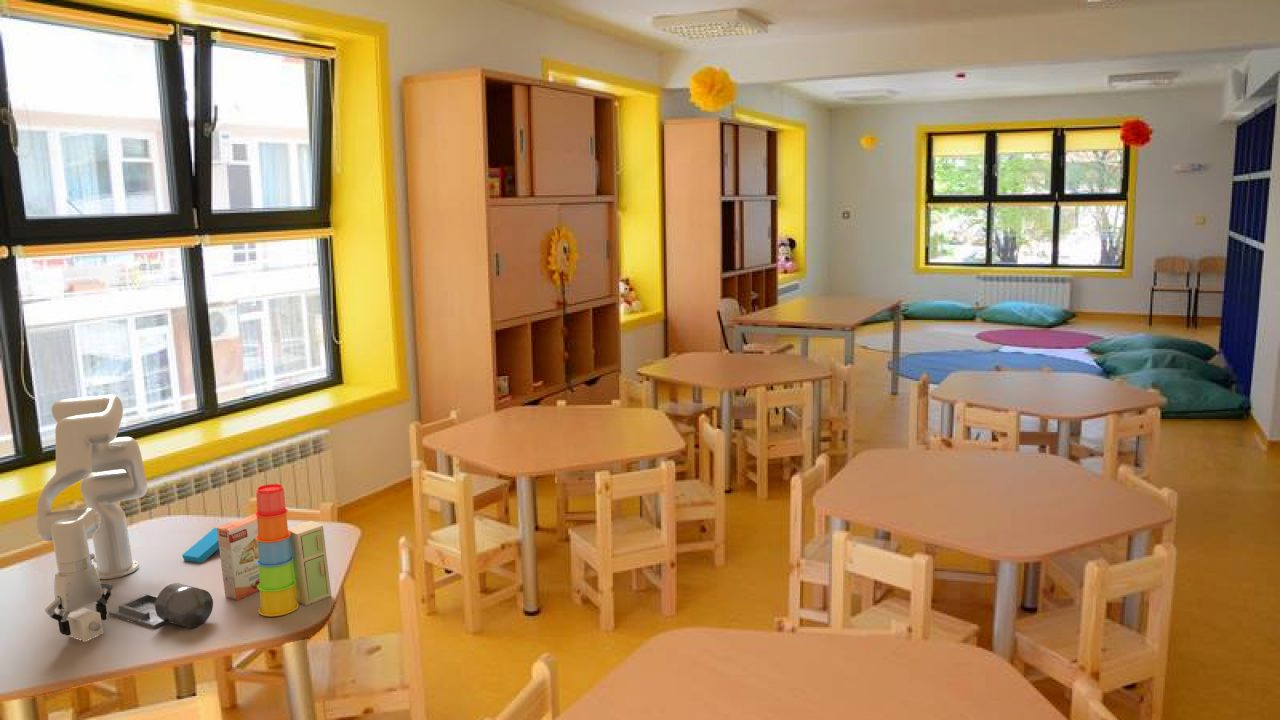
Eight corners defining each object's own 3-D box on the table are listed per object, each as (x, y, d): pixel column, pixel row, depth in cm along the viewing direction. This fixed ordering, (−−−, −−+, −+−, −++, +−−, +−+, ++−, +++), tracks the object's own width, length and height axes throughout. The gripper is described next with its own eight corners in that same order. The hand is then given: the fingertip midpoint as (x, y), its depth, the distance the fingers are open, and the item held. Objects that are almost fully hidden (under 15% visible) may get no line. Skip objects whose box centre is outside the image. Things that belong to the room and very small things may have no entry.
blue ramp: (206, 575, 301) (245, 540, 316) (198, 557, 298) (238, 522, 313) (189, 573, 304) (229, 538, 319) (181, 555, 301) (222, 520, 316)
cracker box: (238, 601, 270) (228, 530, 266) (224, 597, 273) (214, 527, 269) (280, 582, 281) (271, 514, 277) (266, 578, 285) (257, 511, 281)
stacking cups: (268, 601, 269) (252, 482, 262) (304, 600, 268) (289, 481, 262) (252, 618, 259) (236, 495, 252) (290, 617, 258) (274, 493, 251)
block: (69, 637, 253) (65, 615, 252) (87, 628, 258) (84, 607, 256) (89, 643, 249) (85, 622, 248) (108, 635, 253) (104, 614, 252)
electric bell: (109, 615, 265) (103, 580, 263) (149, 597, 275) (144, 564, 273) (178, 636, 250) (173, 600, 249) (218, 616, 261) (213, 582, 259)
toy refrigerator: (307, 607, 264) (298, 534, 260) (293, 600, 269) (284, 528, 265) (333, 596, 270) (324, 525, 266) (319, 590, 275) (311, 520, 271)
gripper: (98, 551, 259) (107, 610, 262) (31, 575, 244) (43, 638, 247) (114, 555, 255) (124, 615, 258) (48, 579, 241) (59, 643, 244)
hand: (84, 626), depth 253 cm, fingers open, 9 cm apart
